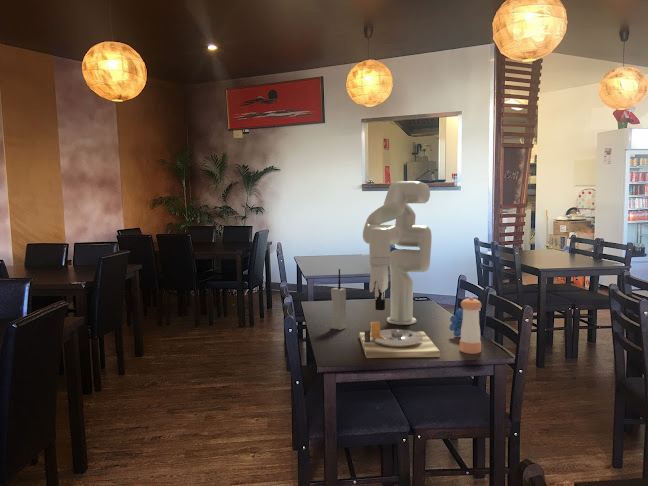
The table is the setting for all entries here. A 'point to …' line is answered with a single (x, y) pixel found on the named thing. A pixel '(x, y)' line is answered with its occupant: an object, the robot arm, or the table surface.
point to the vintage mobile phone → (339, 307)
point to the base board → (398, 348)
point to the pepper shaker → (470, 326)
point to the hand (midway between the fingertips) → (380, 309)
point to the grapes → (457, 322)
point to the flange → (394, 336)
